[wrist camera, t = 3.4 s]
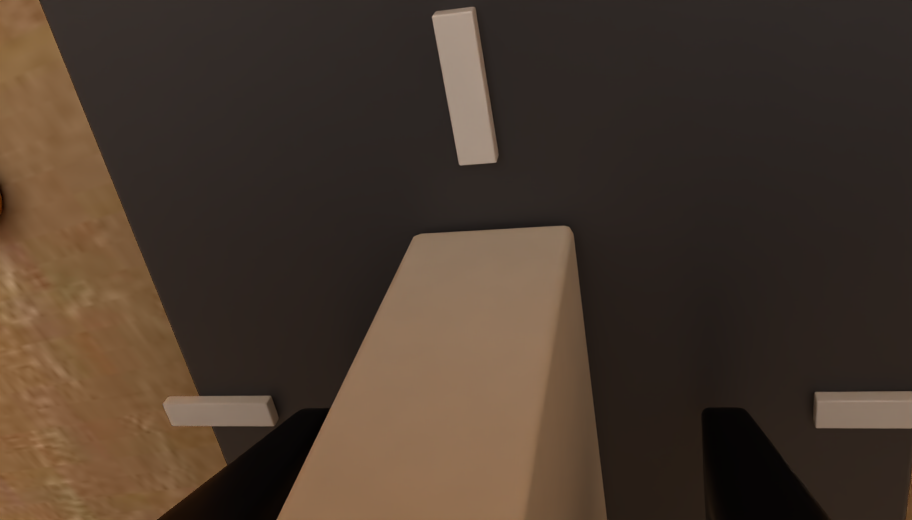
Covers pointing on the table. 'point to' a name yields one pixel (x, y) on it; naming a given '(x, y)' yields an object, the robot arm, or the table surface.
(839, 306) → the panel
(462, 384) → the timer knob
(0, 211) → the logo
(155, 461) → the table surface
